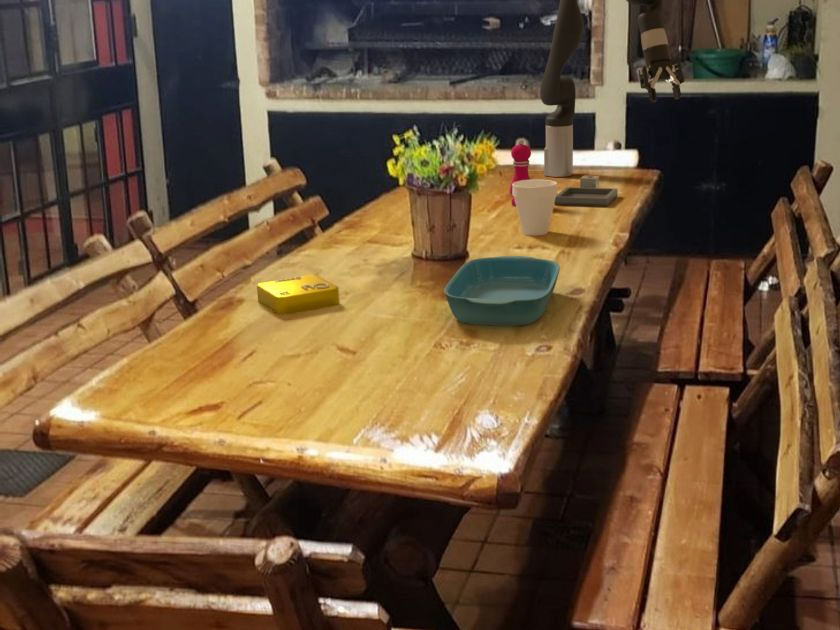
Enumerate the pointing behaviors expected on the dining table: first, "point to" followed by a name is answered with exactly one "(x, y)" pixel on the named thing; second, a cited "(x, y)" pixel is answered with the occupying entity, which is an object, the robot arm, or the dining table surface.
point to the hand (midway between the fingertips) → (665, 100)
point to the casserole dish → (502, 290)
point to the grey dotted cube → (589, 182)
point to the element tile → (297, 294)
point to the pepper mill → (520, 164)
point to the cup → (534, 204)
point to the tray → (586, 196)
